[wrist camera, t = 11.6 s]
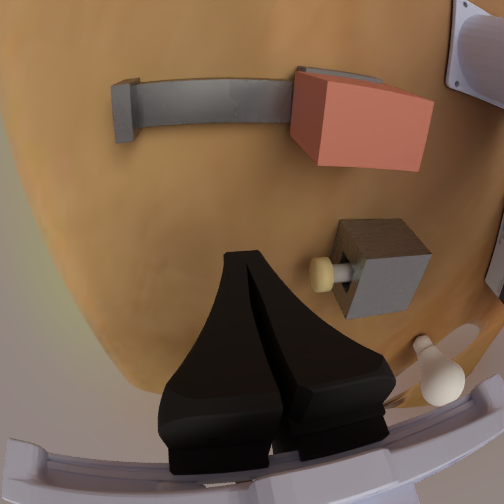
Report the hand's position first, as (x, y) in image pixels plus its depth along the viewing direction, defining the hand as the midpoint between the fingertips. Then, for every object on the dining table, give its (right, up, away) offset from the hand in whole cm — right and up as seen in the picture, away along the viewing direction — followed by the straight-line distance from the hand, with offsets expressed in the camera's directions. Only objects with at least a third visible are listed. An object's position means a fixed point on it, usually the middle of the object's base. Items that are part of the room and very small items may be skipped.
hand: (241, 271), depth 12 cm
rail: (+2, +10, +5) cm, 11 cm away
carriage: (+5, +10, +6) cm, 13 cm away
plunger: (+7, 0, +12) cm, 14 cm away
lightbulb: (+23, -11, +26) cm, 36 cm away
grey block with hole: (+10, +1, +14) cm, 17 cm away
